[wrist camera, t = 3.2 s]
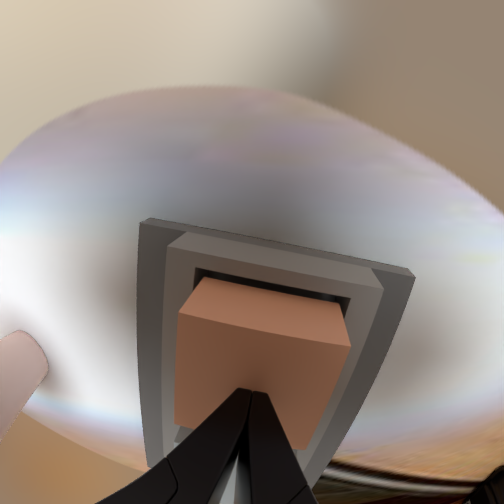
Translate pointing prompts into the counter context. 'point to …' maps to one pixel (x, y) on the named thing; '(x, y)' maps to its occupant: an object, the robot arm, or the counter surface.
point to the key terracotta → (258, 353)
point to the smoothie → (18, 375)
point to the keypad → (270, 278)
